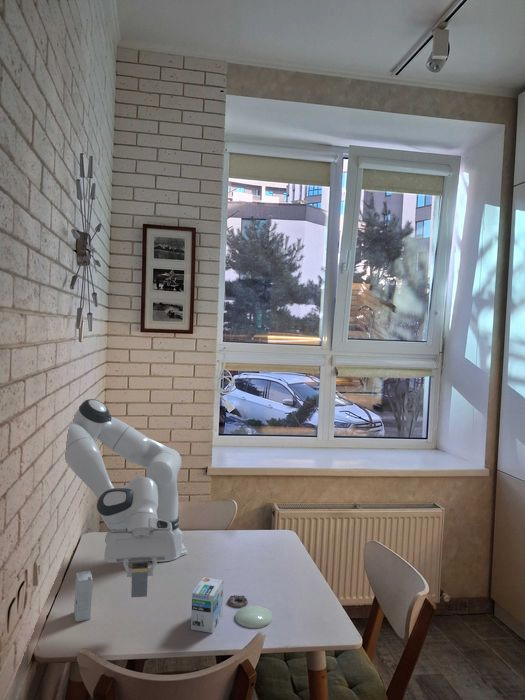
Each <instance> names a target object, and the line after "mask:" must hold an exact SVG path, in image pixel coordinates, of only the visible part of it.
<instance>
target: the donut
mask: <svg viewBox="0 0 525 700" xmlns="http://www.w3.org/2000/svg"><path fill="white" fill-rule="evenodd" d="M227 602H228V605H229V606H231V607H232V608H243V607H246V606H247V605H248V602H249V601H248V600H247V598H246V595H237V594H236V595H235V594H234V595H230V596H229V598H228V599H227Z"/></svg>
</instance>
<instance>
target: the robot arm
mask: <svg viewBox="0 0 525 700" xmlns="http://www.w3.org/2000/svg"><path fill="white" fill-rule="evenodd" d="M73 416H74V419H73V423H70V422H69V423H70V425H69V429H68V434H67V441H66V452H65V460H66V461H65V460H64V461H65V463H66V465H67V466H68V467H69V468H70V469H71V471H72V472H74V474H75V475H76V476H77V477H78V478H79V479H80V480H81V481H82V482H83V483H84V484H85V485H86V486H87V487H88V488H89V489H90V490H91V492H92V493H93V494H94V496H95V498H96V499H97V502H96V509H97V512H98V514H99V515H100V517H101V519H102V520H103V522H104V523H105V525H106V528H107V529H108V532H107V533H106V534H105V537H104V538H105V539H104V541H105V544H106V545H105V549H104V561H105V562H106V563H122V564H123V567H124V569H125V570H126V578H132V568H130V567H129V565H130V562H131V563H137V562H150V561H151V562H152V563H151V564H152V565H150V567H148V577H150V576H151V577H153V576H154V570H155V569H156V567H157V565H158V562H159V563H160V562H161V563H163V562H170V561H174V560H176V559H178V558H180V557H181V556H185V555H187V554H188V550H187V548H186V546H185V545H184V543H183V542H184V540H183V532H182V530H181V529H180V528H179V527H180V516H179V514H178V513H179V492H178V474H179V472H180V470H181V469H182V468H181V467H182V457H181V454H180V453H179V451H177V450H176V449H174V448H171V447H168V446H166V445H165V444H162V443H160V442H158V441H156V440H155V439H154V440H153V439H152V438H150V437H148V436H146V435H144V434H143V433H142V432H140V431H139V430H137V429H136V428H134V427H133V426H130V425H129V424H127V423H126V422H124V421H122V420H120V419H118V418H116V417H113V416H112V415H111V413H110V411H109V409H108V407H107V405H106V404H104V403H103V402H101V401H100V400H98V399H95V398H94V399H93V398H89V399H85V400H84V401H83V402H81V404H80V405H79V407H78V409H77V410H76V411H75V413H74V414H73ZM96 440H98V441H99V442H101V443H102V444H103V445H104V446H105V447H106V448H107V449H109V450H111V451H112V452H114V453H115V454H117V455H118V456H120V457H122V458H123V459H124V460H126V461H128V462H129V463H131V464H135V465H138V466H141V467H143V468H145V469H146V471H145V472H146V476H136V477H135V478H134V477H133V478H132V480H131V481H129V482H127V483H126V484H124V485H122V486H119V487H114V485H113V484H112V482H111V480H110V476H109V473H108V471H107V467H106V465H105V462H104V459H103V456H102V453H101V449H99V446H98V445H97V443H96Z"/></svg>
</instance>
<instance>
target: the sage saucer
mask: <svg viewBox="0 0 525 700" xmlns="http://www.w3.org/2000/svg"><path fill="white" fill-rule="evenodd" d="M235 621H236V622H237V624H238V625H241V626H243V627H245V628H248V629H249V628H250V629H260V628H265V627H267V626H269V625H270V624H271V623H272V621H273V613H272V612H271V610H270V609H268V608H266V607H264V606H259V605H248V606H247V605H246V606H244V607H239V609H238V610H237V611H236V613H235Z"/></svg>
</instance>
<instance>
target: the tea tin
mask: <svg viewBox="0 0 525 700" xmlns="http://www.w3.org/2000/svg"><path fill="white" fill-rule="evenodd" d="M148 568H149V562H132V566H131V569H132V577H131V591H130V592H131V598H144V597H148V581H149V580H148V577H149V576H148Z"/></svg>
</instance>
